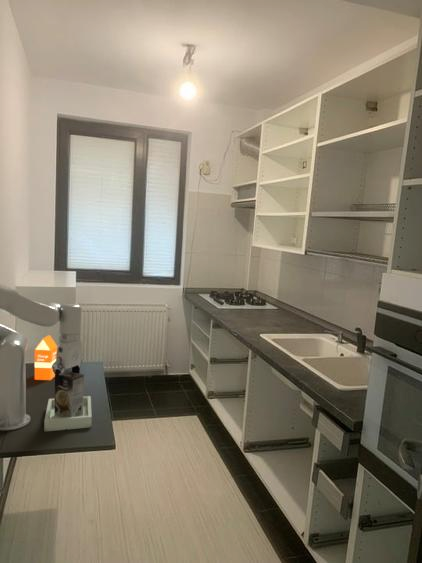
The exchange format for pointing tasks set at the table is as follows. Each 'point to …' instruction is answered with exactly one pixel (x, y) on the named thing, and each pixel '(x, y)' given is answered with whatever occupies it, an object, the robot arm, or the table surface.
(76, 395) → the coffee box
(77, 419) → the tray
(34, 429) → the table surface
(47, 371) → the orange juice
